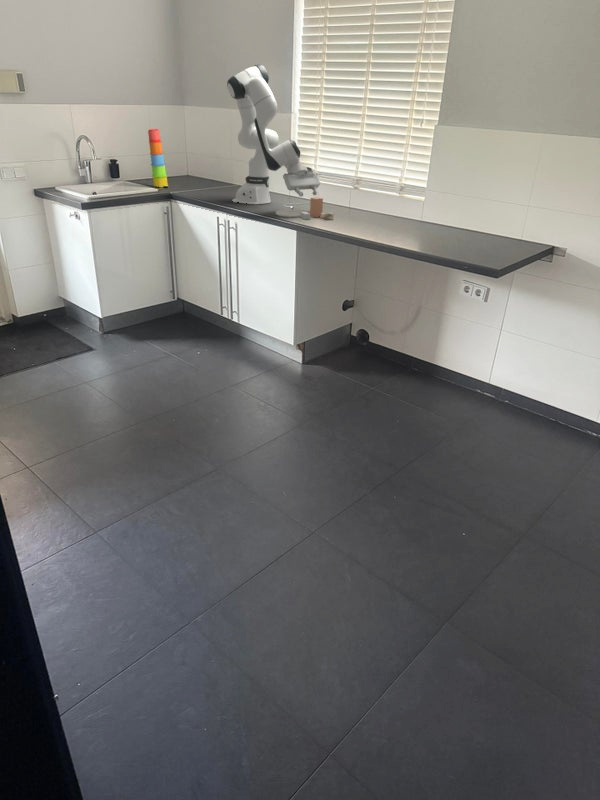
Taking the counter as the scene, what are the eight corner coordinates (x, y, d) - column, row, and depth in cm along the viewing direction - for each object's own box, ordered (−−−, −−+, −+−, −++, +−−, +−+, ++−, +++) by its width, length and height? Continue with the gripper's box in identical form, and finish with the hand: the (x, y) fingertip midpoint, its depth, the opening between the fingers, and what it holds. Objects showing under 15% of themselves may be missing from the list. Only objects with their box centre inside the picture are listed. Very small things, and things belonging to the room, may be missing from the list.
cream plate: (272, 216, 293) (272, 213, 292) (280, 211, 305) (280, 208, 305) (300, 218, 290) (300, 215, 289) (306, 213, 302) (306, 210, 302)
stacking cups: (166, 188, 366) (161, 129, 350) (151, 188, 366) (145, 129, 350) (170, 186, 375) (166, 128, 359) (155, 186, 375) (150, 128, 359)
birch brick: (322, 220, 287) (322, 214, 286) (320, 219, 290) (320, 213, 288) (333, 219, 288) (333, 213, 287) (331, 218, 291) (331, 212, 290)
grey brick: (300, 217, 291) (300, 211, 290) (305, 217, 292) (305, 211, 291) (304, 220, 287) (304, 213, 285) (310, 219, 288) (310, 213, 286)
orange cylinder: (310, 215, 296) (310, 197, 291) (316, 215, 298) (317, 197, 294) (315, 217, 293) (316, 199, 288) (322, 216, 295) (322, 198, 291)
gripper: (284, 169, 287) (296, 192, 285) (314, 168, 299) (326, 190, 297) (279, 178, 292) (290, 200, 290) (309, 176, 304) (320, 197, 302)
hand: (308, 195), depth 294 cm, fingers open, 8 cm apart
